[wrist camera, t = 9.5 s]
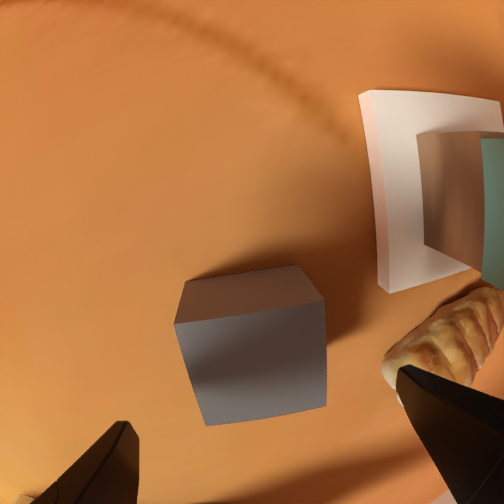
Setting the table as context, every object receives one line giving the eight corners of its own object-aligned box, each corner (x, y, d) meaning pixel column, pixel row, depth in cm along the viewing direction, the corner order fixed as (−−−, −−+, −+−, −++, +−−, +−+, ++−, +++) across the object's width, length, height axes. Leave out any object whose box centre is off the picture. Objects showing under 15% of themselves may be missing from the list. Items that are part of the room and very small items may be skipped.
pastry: (476, 253, 15) (520, 274, 11) (495, 319, 17) (528, 342, 13) (365, 360, 16) (395, 403, 12) (404, 407, 18) (428, 443, 14)
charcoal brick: (304, 354, 15) (326, 405, 11) (207, 370, 15) (205, 426, 11) (297, 263, 14) (325, 299, 10) (185, 280, 13) (173, 324, 10)
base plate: (493, 250, 15) (506, 255, 14) (377, 284, 14) (389, 293, 13) (485, 103, 12) (499, 101, 11) (357, 95, 12) (369, 89, 11)
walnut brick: (489, 228, 13) (542, 247, 9) (423, 244, 13) (481, 272, 9) (484, 135, 11) (542, 136, 8) (415, 134, 11) (478, 130, 7)
